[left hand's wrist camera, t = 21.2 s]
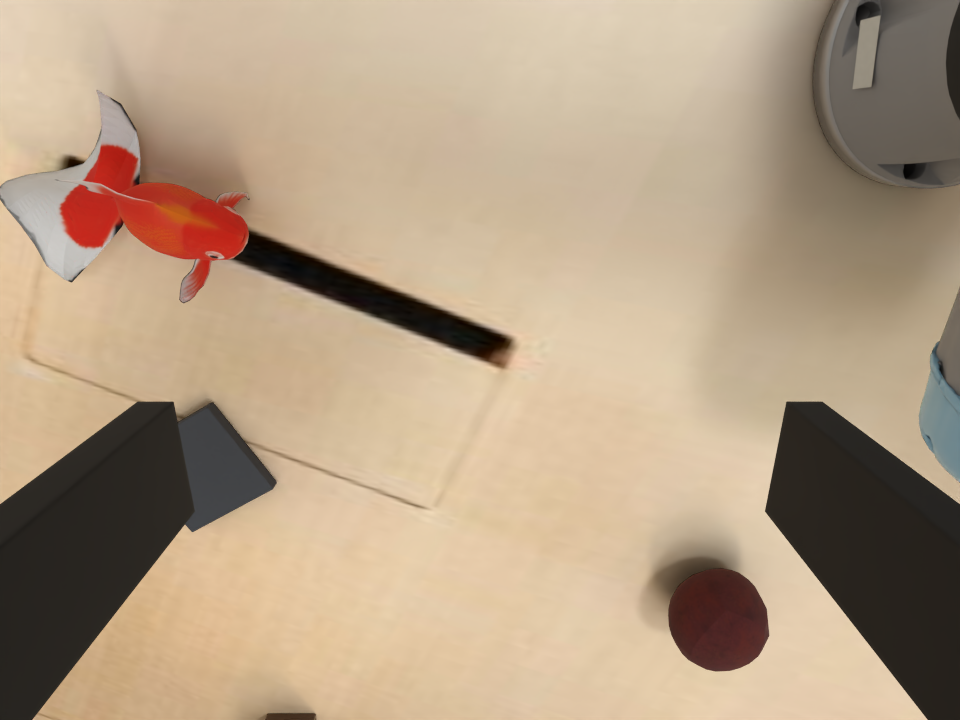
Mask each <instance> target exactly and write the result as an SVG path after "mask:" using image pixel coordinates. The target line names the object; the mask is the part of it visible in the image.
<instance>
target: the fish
mask: <svg viewBox="0 0 960 720" xmlns="http://www.w3.org/2000/svg"><path fill="white" fill-rule="evenodd" d="M97 93H98V96H99V102H100V109H101V122H102V126H101V131H100V134H99V138H98V141H97V144H96V147H95V149H94V150H93V152H92V153H91V155H90V156H89V158H88V159H87V160H86V161H85V163H84V164H80V165H77V166H74V167H70V168H67V169H63V170H59V171H53V172H43V173H36V174H29V175H25V176H21V177H18V178H15V179H11V180H8V181H6V182H5V183H3V184H2V185H1V186H0V200H1V201H2V203H3V204H4V205H5V207H6V208H7V209H8V211H9V212H10V213H11V214H12V215H13V217H14V218H15V219H16V220H17V221H18V223H19V224H20V225H21V226H22V228H23V229H24V231H25V232H26V233H27V235H28V236H29V237H30V239H31V240H32V242H33V243H34V244H35V246H36V248H37V249H38V251H39V253H40V255H41V257H42V258H43V260H44V262H45V264H46V266H48V267H49V268H50V269H51V270H53V271H54V272H55V273H57V274H58V275H59V276H61V277H62V278H63V279H64V280H67V281H70V282H73V280H74V279H75V278H76V277H77V276H78V275H79V274H80V273H81V272H82V271H83V270H84V269H85V268H86V267H87V266H88V265H89V264H90V263H91V262H92V261H93V260H94V259H95V258H96V256H97V255H98V254H99V253H100V252H101V251H102V250H103V248H104V247H105V246H106V245H107V244H108V243H109V241H110V240H111V239H112V238H113V237H114V235H115V234H116V233H117V232H118V231H119V229H120V228H121V227H122V225H123V223H125V225H126V227H127V228H128V230H129V231H130V232H131V233H132V234H133V235H134V236H135V237H136V238H138V239H139V240H140V241H142V242H143V243H144V244H146V245H147V246H149V247H150V248H152V249H154V250H155V251H158V252H160V253H163V254H167V255H170V256H173V257H177V258H181V259H196V260H195V263H194V266H193V269H192V270H191V271H190V272H189V273H188V274H187V275H186V276H185V277H184V279H183V280H182V283H181V289H180V299H179V300H180V301H181V302H182V303H185V302H188V301H190V300H191V299H192V298H193V297H194V296H195V295H196V293H197V292H198V290H199V289H200V288H202V287H203V286H204V284H205V281H206V279H207V277H208V275H209V271H210V265H211V260H212V261H214V260H228V259H231V258H234V257H235V256H236V255H238V254H239V253H240V252H242V251H243V249H244V247H245V246H246V244H247V242H248V236H249V233H248V227H247V224H246V222H245V221H244V219H243V218H242V217H241V216H240V215H239V214H238V213H237V211H235V210H234V209H233V208H234V207H235V206H236V205H237V204H238V202H239V201H240V200H241V199H242V198H244V197H247V199H248V200H250V199H249V196H248V193H245V192H228V193H223V194H221V195H219V196H218V198H217V199H216V202H214V201H212V200H210V199H206V198H204V197H203V196H201V195H200V194H198V193H196V192H194V191H192V190H189V189H187V188H185V187H182V186H178V185H175V184H168V183H143V184H139V178H140V149H139V142H138V137H137V131H136V129H135V127H134V125H133V123H132V122H131V120H130V118H129V117H128V115H127V113H126V112H125V110H124V108H123V107H122V105H121V104H120V103H119V102H117V101H115V100H113V99H112V98H110V97H108V96H107V95H105V94H103V93H101V92H100V91H98V90H97Z"/></svg>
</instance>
